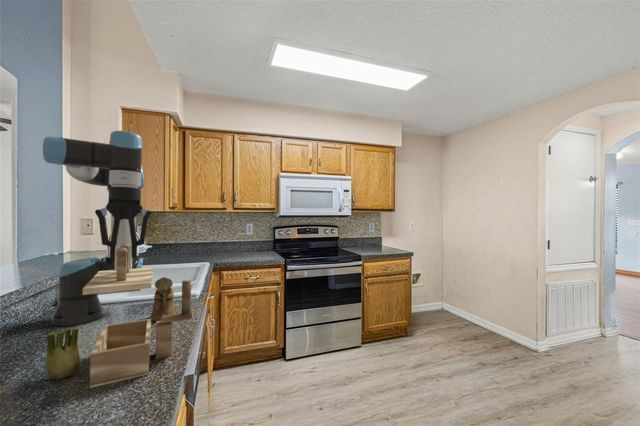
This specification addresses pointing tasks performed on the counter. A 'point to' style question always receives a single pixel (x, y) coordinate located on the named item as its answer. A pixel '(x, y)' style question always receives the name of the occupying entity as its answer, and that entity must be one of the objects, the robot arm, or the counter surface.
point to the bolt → (186, 305)
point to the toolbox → (127, 351)
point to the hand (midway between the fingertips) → (123, 269)
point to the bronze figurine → (163, 299)
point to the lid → (120, 277)
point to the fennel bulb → (62, 354)
